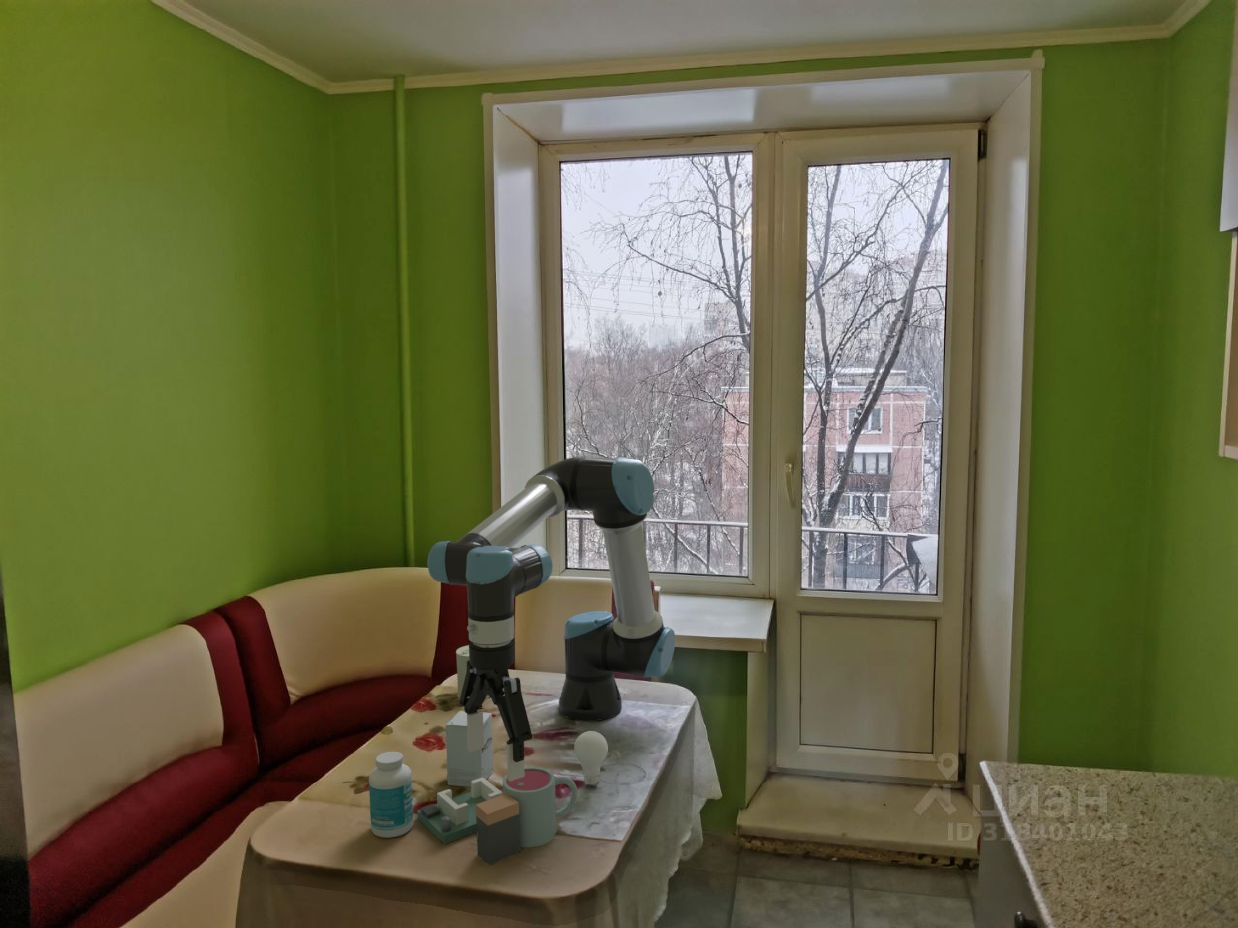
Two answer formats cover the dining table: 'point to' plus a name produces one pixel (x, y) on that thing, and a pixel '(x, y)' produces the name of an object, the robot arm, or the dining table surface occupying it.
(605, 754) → the light bulb
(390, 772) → the pill bottle
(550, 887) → the dining table surface
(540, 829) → the mug
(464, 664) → the can
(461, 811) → the board
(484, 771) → the supplement box
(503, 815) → the plug
